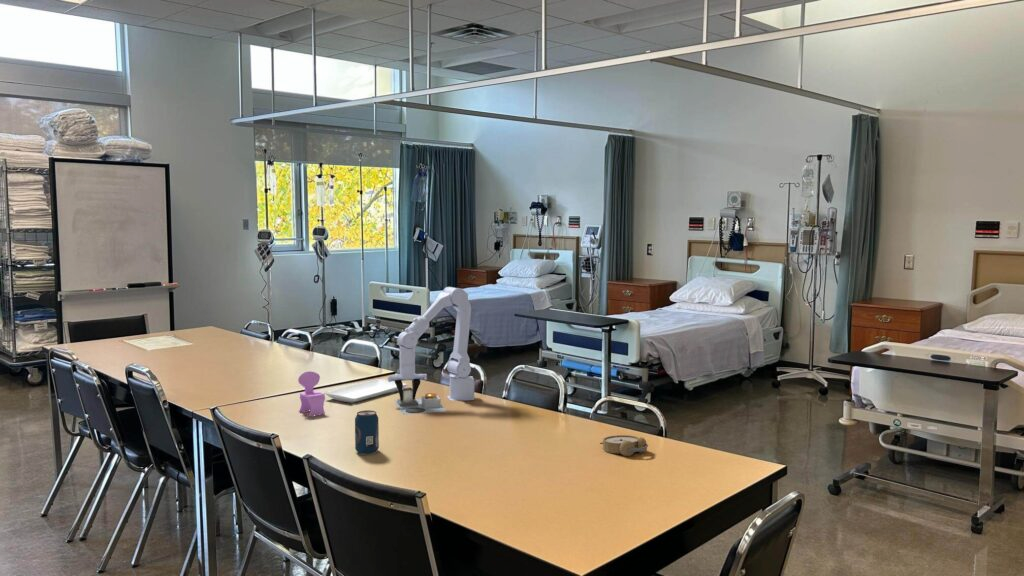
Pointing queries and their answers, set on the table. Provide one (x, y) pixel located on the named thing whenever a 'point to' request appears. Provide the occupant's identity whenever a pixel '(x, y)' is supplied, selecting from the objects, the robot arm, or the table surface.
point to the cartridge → (407, 395)
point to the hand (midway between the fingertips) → (407, 399)
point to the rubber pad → (415, 410)
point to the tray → (363, 390)
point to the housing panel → (422, 405)
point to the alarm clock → (624, 444)
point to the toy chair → (311, 394)
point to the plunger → (430, 396)
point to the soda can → (366, 432)
